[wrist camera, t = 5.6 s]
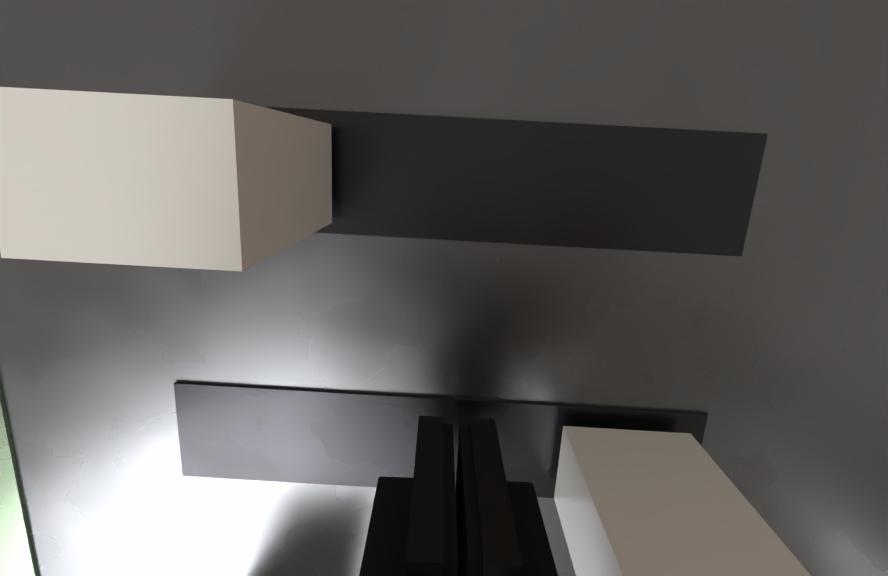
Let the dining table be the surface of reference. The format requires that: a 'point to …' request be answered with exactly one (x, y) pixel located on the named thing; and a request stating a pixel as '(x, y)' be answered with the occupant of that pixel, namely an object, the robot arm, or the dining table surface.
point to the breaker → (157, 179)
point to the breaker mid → (658, 509)
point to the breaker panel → (466, 275)
